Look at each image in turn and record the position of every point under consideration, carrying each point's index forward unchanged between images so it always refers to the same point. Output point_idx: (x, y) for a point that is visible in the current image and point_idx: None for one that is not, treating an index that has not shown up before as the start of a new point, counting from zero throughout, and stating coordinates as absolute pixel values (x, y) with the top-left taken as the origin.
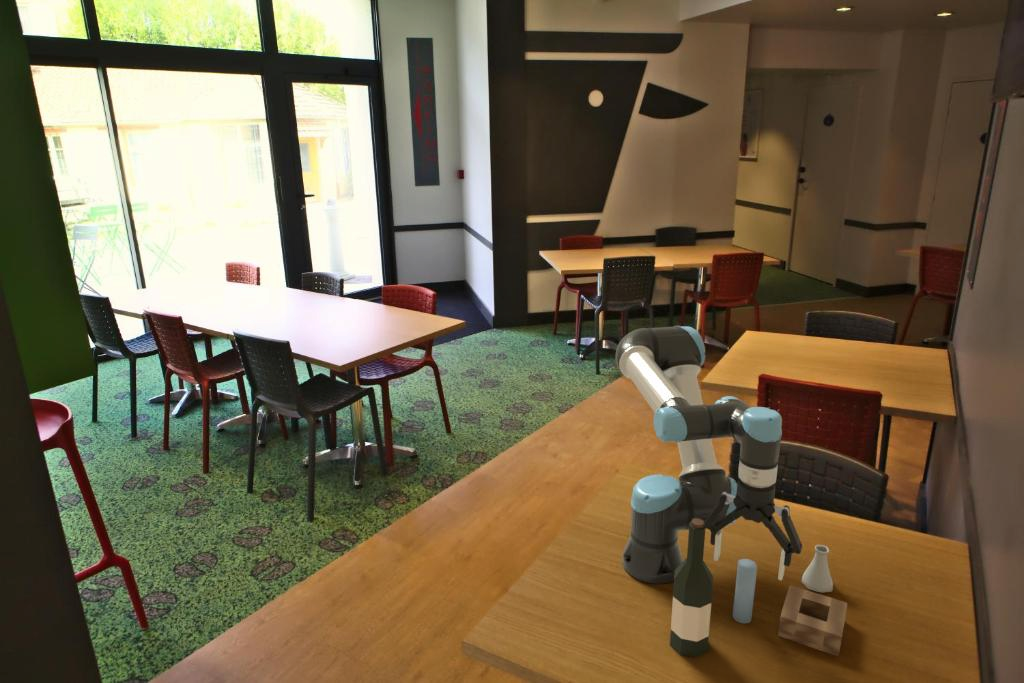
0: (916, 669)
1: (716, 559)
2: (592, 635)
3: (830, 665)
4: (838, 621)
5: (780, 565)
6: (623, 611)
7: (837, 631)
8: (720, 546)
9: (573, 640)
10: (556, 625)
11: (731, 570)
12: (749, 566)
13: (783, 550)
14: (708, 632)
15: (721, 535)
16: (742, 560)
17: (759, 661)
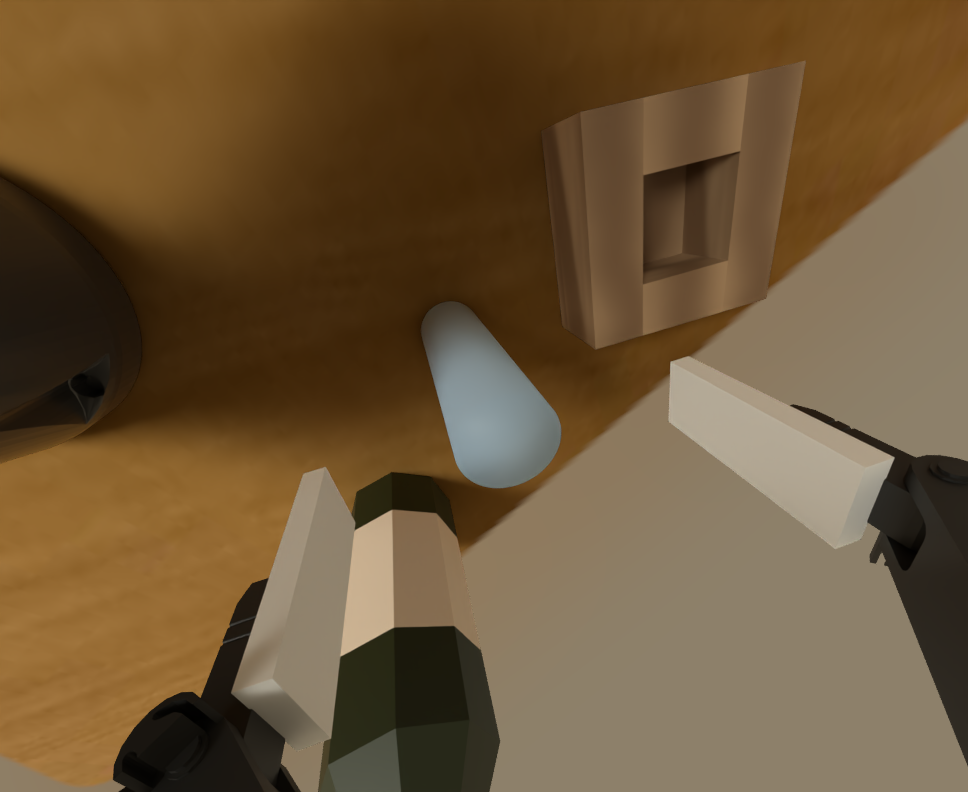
0: (877, 180)
1: (351, 532)
2: None
3: (691, 329)
4: (762, 226)
5: (744, 474)
6: (191, 555)
7: (756, 283)
8: (317, 524)
9: None
10: (138, 681)
11: (237, 44)
12: (525, 452)
13: (858, 512)
14: (458, 548)
15: (293, 614)
16: (469, 435)
17: None
